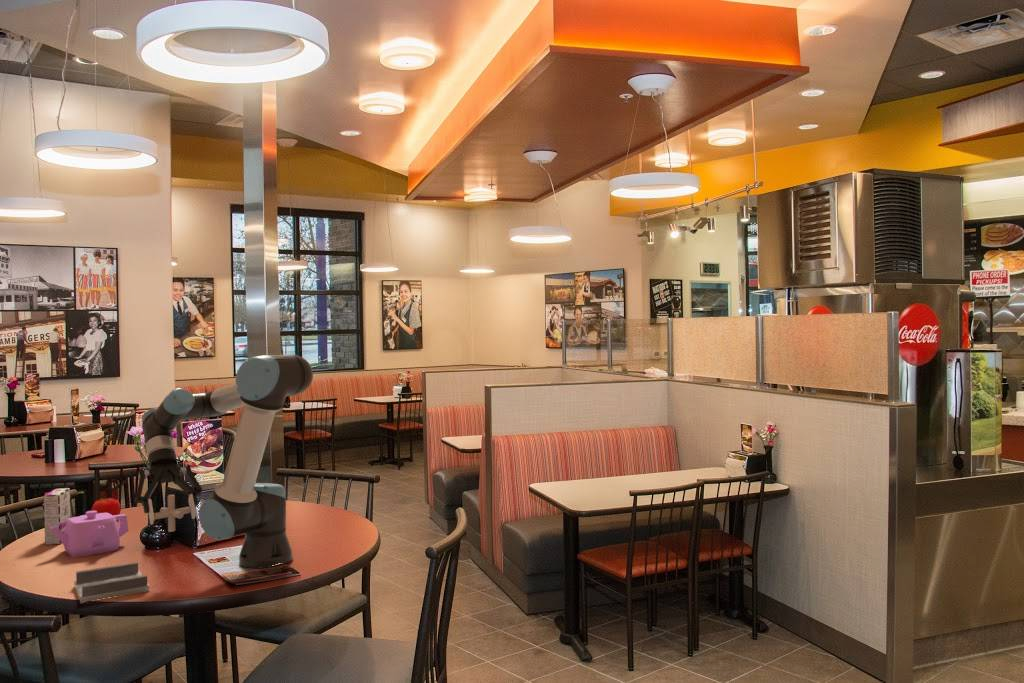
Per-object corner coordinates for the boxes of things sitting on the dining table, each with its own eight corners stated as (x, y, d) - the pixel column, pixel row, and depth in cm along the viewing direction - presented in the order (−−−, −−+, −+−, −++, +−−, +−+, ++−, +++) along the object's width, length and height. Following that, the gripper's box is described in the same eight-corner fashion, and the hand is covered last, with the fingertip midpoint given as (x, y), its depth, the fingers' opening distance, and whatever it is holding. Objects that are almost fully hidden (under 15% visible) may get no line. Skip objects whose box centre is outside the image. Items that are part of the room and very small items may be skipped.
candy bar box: (55, 536, 261) (54, 488, 260) (71, 535, 262) (70, 487, 262) (43, 545, 250) (42, 495, 250) (60, 544, 251) (59, 494, 251)
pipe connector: (180, 524, 222) (179, 490, 222) (197, 530, 216) (197, 494, 216) (145, 531, 215) (144, 496, 214) (162, 537, 208) (162, 500, 208)
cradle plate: (139, 575, 217) (139, 561, 217) (149, 591, 204) (149, 575, 204) (74, 586, 208) (73, 572, 208) (80, 603, 195) (80, 587, 195)
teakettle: (132, 543, 252) (131, 505, 252) (103, 558, 235) (102, 517, 235) (80, 543, 253) (80, 505, 253) (48, 558, 236) (47, 517, 236)
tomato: (126, 517, 287) (125, 495, 287) (108, 524, 277) (108, 501, 277) (102, 517, 288) (102, 495, 288) (84, 524, 278) (84, 500, 278)
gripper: (200, 458, 234) (214, 520, 221) (117, 466, 221) (126, 532, 209) (204, 443, 230) (218, 505, 217) (119, 450, 217) (129, 516, 204)
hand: (173, 518), depth 213 cm, fingers closed on pipe connector, 10 cm apart
